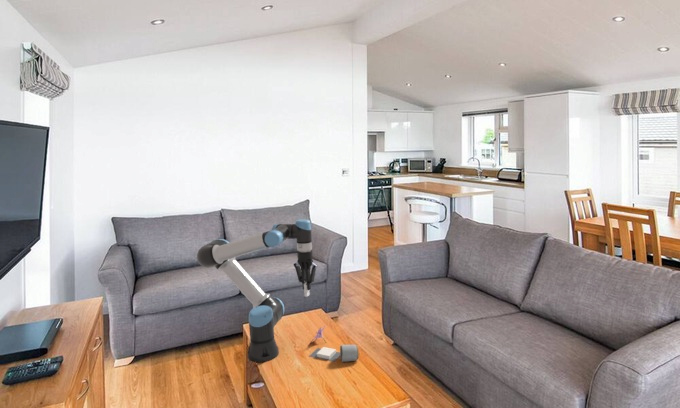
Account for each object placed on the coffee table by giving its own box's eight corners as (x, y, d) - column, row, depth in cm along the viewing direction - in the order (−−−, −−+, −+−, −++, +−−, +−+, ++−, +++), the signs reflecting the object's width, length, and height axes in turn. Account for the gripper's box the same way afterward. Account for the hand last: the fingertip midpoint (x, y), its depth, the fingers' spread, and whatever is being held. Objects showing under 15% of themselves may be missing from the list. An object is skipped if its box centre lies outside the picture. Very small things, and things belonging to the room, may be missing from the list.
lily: (328, 337, 228) (319, 322, 229) (338, 336, 219) (329, 320, 219) (311, 351, 222) (302, 335, 222) (321, 351, 212) (311, 334, 212)
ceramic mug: (359, 363, 199) (359, 347, 198) (342, 365, 198) (341, 349, 197) (355, 352, 209) (354, 337, 208) (338, 354, 208) (338, 339, 207)
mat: (308, 357, 206) (308, 356, 206) (317, 348, 214) (317, 348, 214) (334, 362, 200) (334, 361, 200) (342, 353, 208) (342, 353, 208)
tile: (316, 353, 205) (329, 356, 202) (323, 346, 211) (335, 349, 208) (316, 356, 205) (329, 359, 202) (323, 350, 212) (336, 352, 208)
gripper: (289, 251, 211) (292, 296, 215) (312, 253, 206) (314, 299, 209) (297, 247, 218) (299, 291, 221) (319, 249, 212) (321, 294, 216)
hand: (307, 295), depth 215 cm, fingers closed
